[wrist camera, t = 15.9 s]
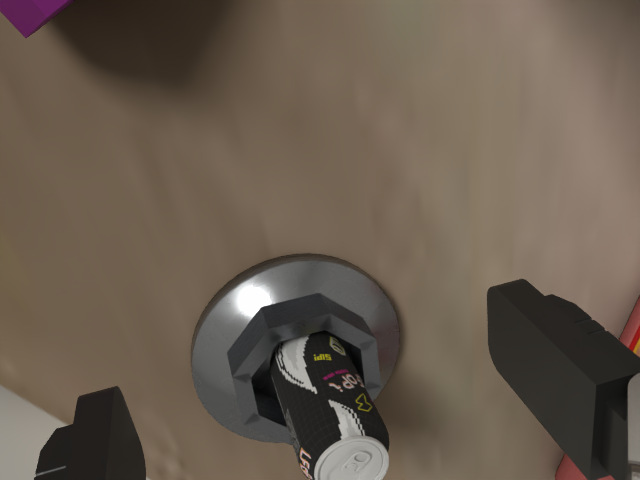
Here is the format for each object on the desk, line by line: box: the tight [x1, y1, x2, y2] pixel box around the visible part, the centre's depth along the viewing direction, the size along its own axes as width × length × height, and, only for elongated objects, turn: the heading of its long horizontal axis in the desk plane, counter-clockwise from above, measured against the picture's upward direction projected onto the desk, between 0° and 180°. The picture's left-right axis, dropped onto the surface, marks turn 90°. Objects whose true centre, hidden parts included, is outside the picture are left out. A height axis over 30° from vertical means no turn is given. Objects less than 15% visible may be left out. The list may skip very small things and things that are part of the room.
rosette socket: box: [191, 253, 400, 445], centre depth 46 cm, size 16×16×4 cm
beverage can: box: [270, 330, 389, 480], centre depth 41 cm, size 6×6×12 cm
